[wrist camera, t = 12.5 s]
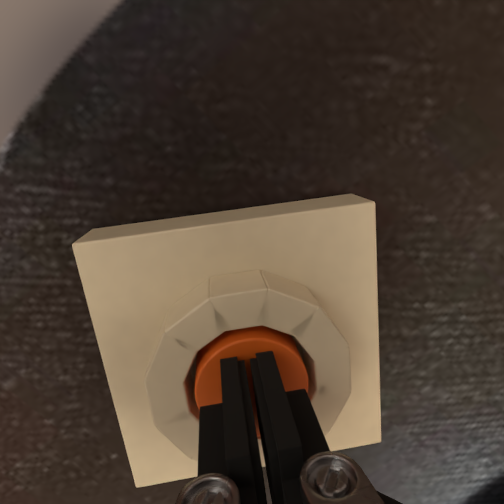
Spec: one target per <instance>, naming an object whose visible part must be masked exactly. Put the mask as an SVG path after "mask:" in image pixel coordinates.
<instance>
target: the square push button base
mask: <svg viewBox="0 0 504 504" xmlns="http://www.w3.org/2000/svg"><path fill="white" fill-rule="evenodd" d="M72 248H73V251H74V255H75V259H76V263H77V266H78V270H79V274H80V278H81V281H82V285H83V289H84V293H85V297H86V300H87V304H88V308H89V312H90V315H91V319H92V323H93V327H94V330H95V334H96V338H97V342H98V346H99V349H100V353H101V357H102V361H103V364H104V368H105V372H106V376H107V379H108V383H109V387H110V391H111V394H112V398H113V402H114V406H115V410H116V413H117V417H118V421H119V425H120V428H121V432H122V436H123V440H124V443H125V447H126V451H127V455H128V459H129V462H130V466H131V470H132V474H133V477H134V481H135V485H136V487H144V486H149V485H154V484H160V483H165V482H170V481H176V480H181V479H186V478H192V477H197V476H198V444H199V413H200V411H199V408H198V406H197V403H196V400H195V374H196V357H197V352H198V351H199V350H200V349H202V348H203V347H204V346H206V345H207V344H208V343H210V342H211V341H213V340H214V339H215V338H217V337H218V336H219V335H221V334H222V333H223V332H225V331H230V330H236V329H242V328H249V327H255V326H261V325H263V326H266V327H269V328H272V329H275V330H277V331H280V332H283V333H286V334H289V335H291V336H292V338H293V340H294V342H295V344H296V346H297V349H298V351H299V353H300V356H301V358H302V360H303V363H304V365H305V367H306V370H307V374H308V393H307V394H308V396H309V399H310V401H311V404H312V406H313V409H314V411H315V414H316V416H317V419H318V421H319V424H320V426H321V429H322V431H323V434H324V436H325V439H326V441H327V444H328V446H329V449H330V451H336V450H341V449H347V448H352V447H357V446H363V445H368V444H373V443H379V442H381V410H380V370H379V330H378V290H377V250H376V210H375V202H374V201H371V200H368V199H365V198H363V197H360V196H357V195H354V194H344V195H337V196H330V197H322V198H315V199H308V200H301V201H293V202H286V203H279V204H271V205H264V206H257V207H249V208H242V209H235V210H228V211H220V212H213V213H206V214H198V215H191V216H184V217H177V218H169V219H162V220H155V221H147V222H140V223H133V224H126V225H118V226H111V227H104V228H96V229H92V230H90V231H89V232H88V233H86V234H85V235H84V236H82V237H81V238H80V239H78V240H77V241H76V242H74V243H73V244H72ZM257 438H258V444H259V451H260V457H261V464H262V467H265V460H264V455H263V449H262V443H261V438H260V436H257Z"/></svg>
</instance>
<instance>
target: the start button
mask: <svg viewBox="0 0 504 504" xmlns="http://www.w3.org/2000/svg"><path fill="white" fill-rule="evenodd" d="M266 351H273V354H274V357H275V360H276V363H277V366H278V370H279V373H280V376H281V379H282V382H283V386H284V389H285V392H287V391H293V390H298V389H305V390H306V392H307V393H308V374H307V370H306V367H305V365H304V363H303V360H302V358H301V356H300V353H299V351H298V349H297V346H296V344H295V342H294V340H293V338H292V336H291V335H289V334H286V333H283V332H280V331H277V330H275V329H272V328H269V327H266V326H263V325H261V326H255V327H249V328H242V329H236V330H230V331H225V332H223V333H222V334H221V335H219V336H218V337H217V338H215V339H214V340H213V341H211V342H210V343H208V344H207V345H206V346H204V347H203V348H202V349H200V350H199V351H198V352H197V357H196V374H195V400H196V403H197V406H198V408H199V411H200V407H201V406H207V405H212V404H218V403H222V388H221V370H220V359H224V358H230V357H236V356H237V360H238V361H241V360H244V361H245V367H246V373H247V379H248V385H249V391H250V397H251V403H252V409H253V415H254V421H255V427H256V433H257V436H260V431H259V424H258V417H257V409H256V402H255V395H254V388H253V380H252V373H251V366H250V359H252V358H256V353H260V352H266Z"/></svg>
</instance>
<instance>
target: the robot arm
mask: <svg viewBox="0 0 504 504" xmlns="http://www.w3.org/2000/svg"><path fill="white" fill-rule="evenodd" d="M250 366H251V373H252V380H253V388H254V395H255V402H256V409H257V417H258V424H259V431H260V438H261V443H262V449H263V455H264V460H265V466H266V471H267V477H268V482H269V488H270V494H271V499H272V504H402V503H400V502H398V501H396V500H394V499H392V498H390V497H388V496H386V495H384V494H382V493H380V492H378V491H376V490H375V488H374V487H373V485H372V484H371V482H370V481H369V479H368V478H367V476H366V475H365V473H364V472H363V471H362V469H361V468H360V466H359V465H358V464H357V463H356V462H355V461H354V460H353V459H351V458H350V457H348V456H347V455H344V454H341V453H338V452H331V451H330V449H329V446H328V444H327V441H326V439H325V436H324V434H323V431H322V429H321V426H320V424H319V421H318V419H317V416H316V414H315V411H314V409H313V406H312V404H311V401H310V399H309V396H308V394H307V392H306V390H305V389H298V390H293V391H287V392H285V389H284V386H283V382H282V379H281V376H280V373H279V370H278V366H277V363H276V360H275V357H274V354H273V351H266V352H260V353H256V358H252V359H250ZM220 370H221V388H222V403H218V404H212V405H207V406H201V407H200V413H199V444H198V476H197V478H194V479H193V480H192V481H190V482H189V483H188V484H186V485H185V487H184V488H183V489H182V490H181V492H180V493H179V495H178V498H177V500H176V503H175V504H267V500H266V493H265V485H264V478H263V471H262V464H261V457H260V451H259V444H258V438H257V433H256V427H255V421H254V415H253V409H252V403H251V397H250V391H249V385H248V379H247V373H246V367H245V361H244V360H241V361H238V360H237V356H236V357H230V358H224V359H220Z"/></svg>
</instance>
